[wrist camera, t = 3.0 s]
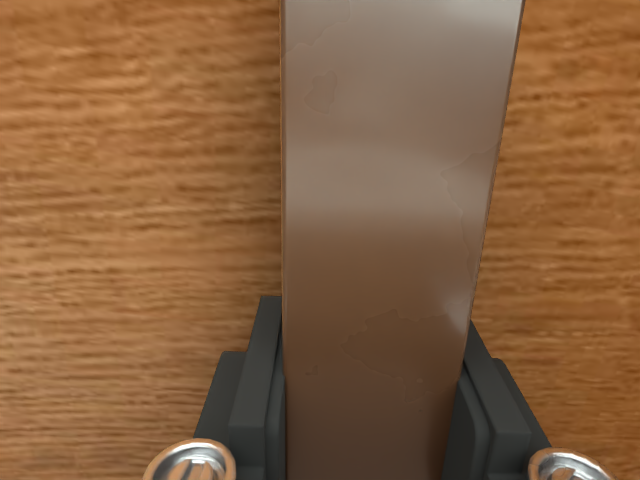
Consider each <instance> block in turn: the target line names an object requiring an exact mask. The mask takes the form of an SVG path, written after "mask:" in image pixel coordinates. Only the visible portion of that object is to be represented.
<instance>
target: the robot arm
mask: <svg viewBox="0 0 640 480" xmlns="http://www.w3.org/2000/svg"><path fill="white" fill-rule="evenodd" d="M142 480H285V376H284V375H283V364H282V296H261V299H260V303H259V307H258V311H257V314H256V318H255V322H254V326H253V330H252V334H251V338H250V342H249V346H248V350H247V352H231V351H224V352H223V353H222V355H221V357H220V360H219V363H218V366H217V368H216V371H215V374H214V377H213V380H212V383H211V386H210V389H209V392H208V395H207V398H206V401H205V404H204V407H203V410H202V413H201V416H200V419H199V422H198V425H197V428H196V431H195V434H194V437H193V439H189V440H183V441H181V442H178V443H176V444H173V445H171V446H169V447H168V448H166V449H165V450H163V451H162V452H160V453H159V454H158V455H157V456H156V457H155V458H154V459H153V460H152V461H151V462H150V464H149V465H148V467H147V469H146V471H145V473H144V475H143V478H142ZM441 480H618V478H617V477H616V476H615V475H614V474H613V473H612V472H610V471H609V470H608V469H607V468H606V467H605V466H604V465H602V464H601V463H599V462H597V461H596V460H594V459H593V458H591V457H589V456H587V455H584V454H582V453H580V452H577V451H575V450H570V449H565V448H560V447H557V448H552V446H551V444H550V443H549V441H548V439H547V437H546V436H545V434H544V432H543V430H542V429H541V427H540V425H539V423H538V422H537V420H536V418H535V416H534V415H533V413H532V411H531V409H530V407H529V406H528V404H527V402H526V400H525V399H524V397H523V395H522V393H521V392H520V390H519V388H518V386H517V385H516V383H515V381H514V379H513V378H512V376H511V374H510V372H509V371H508V369H507V367H506V365H505V364H504V363H503V361H502V360H500V359H498V358H491V356H490V354H489V353H488V351H487V349H486V347H485V345H484V343H483V341H482V340H481V338H480V336H479V334H478V332H477V330H476V328H475V327H474V325H473V323H472V321H471V319H470V324H469V330H468V336H467V341H466V347H465V353H464V359H463V365H462V370H461V376H460V380H459V381H458V383H457V389H456V394H455V400H454V406H453V412H452V418H451V424H450V429H449V435H448V441H447V447H446V453H445V458H444V464H443V470H442V476H441Z"/></svg>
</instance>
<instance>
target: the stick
mask: <svg viewBox="0 0 640 480" xmlns="http://www.w3.org/2000/svg"><path fill="white" fill-rule="evenodd" d="M525 1H526V0H279V28H280V140H281V252H282V364H283V375H284V376H285V480H441V476H442V470H443V464H444V458H445V453H446V447H447V441H448V435H449V429H450V424H451V418H452V412H453V406H454V400H455V394H456V389H457V383H458V381H459V380H460V376H461V370H462V365H463V359H464V353H465V347H466V341H467V336H468V330H469V324H470V318H471V313H472V307H473V301H474V295H475V289H476V284H477V278H478V272H479V266H480V261H481V255H482V249H483V243H484V237H485V232H486V226H487V220H488V214H489V209H490V203H491V197H492V191H493V185H494V180H495V174H496V168H497V162H498V157H499V151H500V145H501V139H502V133H503V128H504V122H505V116H506V110H507V105H508V99H509V93H510V87H511V82H512V76H513V70H514V64H515V58H516V53H517V47H518V41H519V35H520V30H521V24H522V18H523V12H524V6H525Z"/></svg>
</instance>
